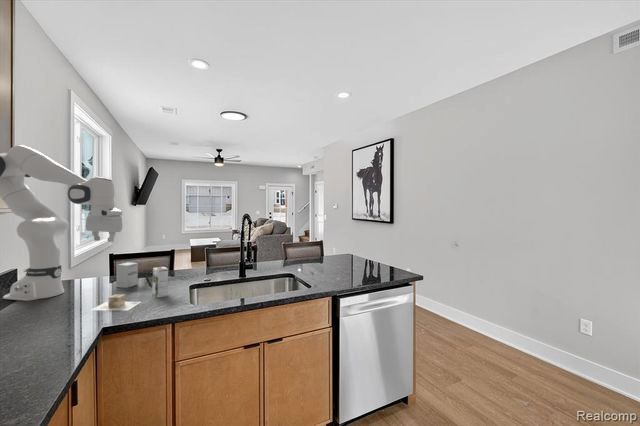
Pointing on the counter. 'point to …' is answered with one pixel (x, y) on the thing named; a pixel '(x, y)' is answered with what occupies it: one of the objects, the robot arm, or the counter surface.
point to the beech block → (116, 300)
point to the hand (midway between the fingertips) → (103, 241)
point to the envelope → (125, 307)
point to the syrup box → (160, 282)
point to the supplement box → (126, 275)
